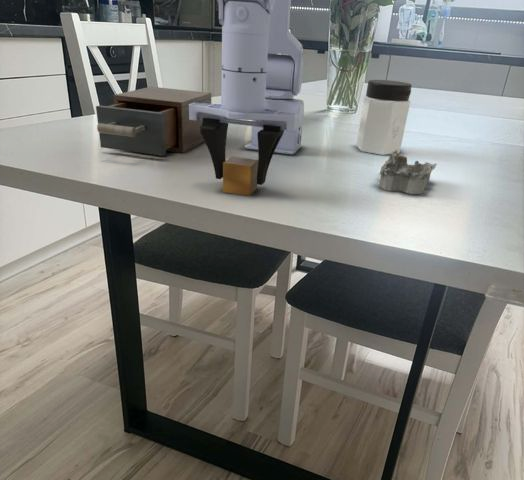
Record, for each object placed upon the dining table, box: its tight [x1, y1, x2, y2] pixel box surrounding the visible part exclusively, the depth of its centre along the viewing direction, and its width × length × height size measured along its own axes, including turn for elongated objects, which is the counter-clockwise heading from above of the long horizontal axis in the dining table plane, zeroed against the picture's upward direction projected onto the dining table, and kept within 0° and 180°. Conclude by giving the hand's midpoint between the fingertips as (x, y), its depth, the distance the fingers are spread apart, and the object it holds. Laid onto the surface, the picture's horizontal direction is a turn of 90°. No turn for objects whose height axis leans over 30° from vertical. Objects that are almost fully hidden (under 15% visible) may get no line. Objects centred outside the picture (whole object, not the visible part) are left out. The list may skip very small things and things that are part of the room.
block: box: [222, 156, 258, 197], centre depth 68 cm, size 4×4×4 cm
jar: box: [355, 79, 413, 156], centre depth 94 cm, size 9×8×12 cm
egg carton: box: [378, 150, 437, 195], centre depth 76 cm, size 11×8×4 cm
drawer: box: [95, 101, 179, 157], centre depth 82 cm, size 18×11×6 cm, turn 165°
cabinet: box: [113, 86, 212, 154], centre depth 90 cm, size 15×13×8 cm
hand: (240, 180), depth 69 cm, fingers open, 5 cm apart
